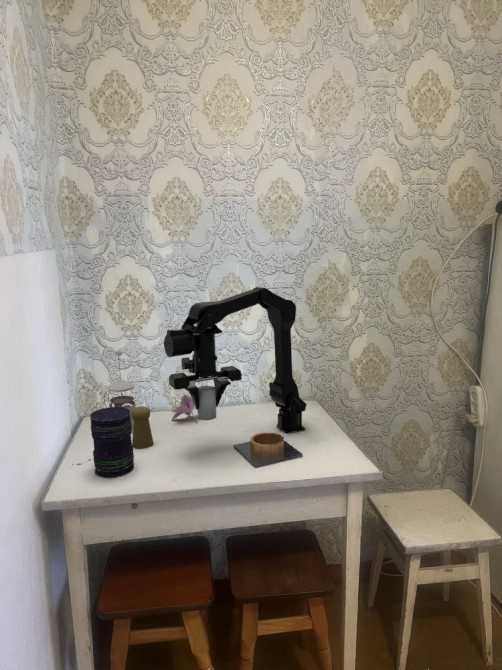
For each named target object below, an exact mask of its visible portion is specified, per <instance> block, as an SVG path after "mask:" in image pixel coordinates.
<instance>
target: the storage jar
mask: <svg viewBox="0 0 502 670" xmlns="http://www.w3.org/2000/svg"><path fill="white" fill-rule="evenodd" d="M89 417H90V432H91V433H90V434H91V438H92V439H93V440H92V441H93V453H92V456H93V464H94V473H95V475H96V476H97V477H98V478H104V479H114V478H120V477H123V476H126V475H128V474H131V472H133V470H134V469H135V464H134V462H135V461H134V459H135V456H134V455H135V453H134V448H133V446H132V434H133V433H132V428H131V425H132V424H131V417H130V410H129V409H127V408H123V406H122V407H114V406H112V407H109V406H108V407H107V408H106V407H104V408H100V409H97V410H95V411H93V412H91V413H90V415H89ZM131 433H132V434H131Z"/></svg>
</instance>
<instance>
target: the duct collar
mask: <svg viewBox="0 0 502 670" xmlns="http://www.w3.org/2000/svg"><path fill="white" fill-rule="evenodd" d="M284 438H285V437H284V436H283V435H281V434H279V433H275V432H265V431H264V432H259V433H255V434H253V435H251V436H250V438H249V441H245V442H242V443H236V444H235V443H234V444H233V445H232V446H233V447H232V448H233V449H234V450H235V451H236V452H237V453H238V452H239V453H238V454H240V456H242V458H244V459H245V460H246V461H247V462H248V463H249V464H250V465H251V466H252V467H254V469H256V468H261V467H265V466H270V465H273V464H279V463H283V462H286V461H291V460H295V459H299V458H303V457H304V454H303V453H302V452H301V451H299V450H298V449H297V448H295V447H294V446H293V445H291V444H290V443H288V442H287V441H286V440H285V439H284Z"/></svg>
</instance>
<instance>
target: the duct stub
mask: <svg viewBox="0 0 502 670" xmlns="http://www.w3.org/2000/svg"><path fill="white" fill-rule="evenodd" d="M197 387H198V395H199V410H197V419H198V420H200V421H211V420H214V419H215V420H216V419H217V407H216V390H215V386H213V385H202V386H197Z"/></svg>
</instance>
